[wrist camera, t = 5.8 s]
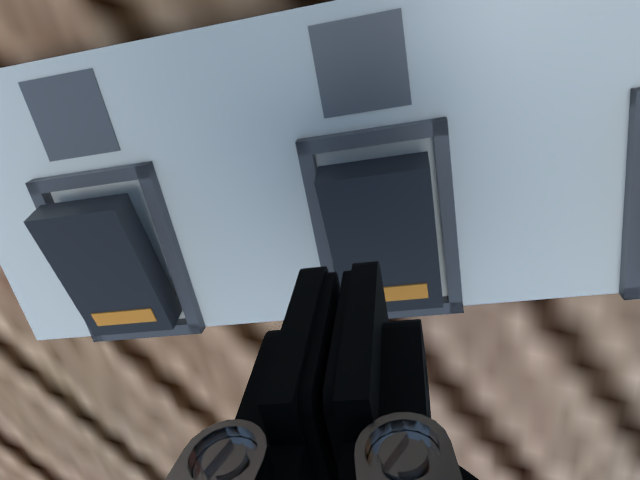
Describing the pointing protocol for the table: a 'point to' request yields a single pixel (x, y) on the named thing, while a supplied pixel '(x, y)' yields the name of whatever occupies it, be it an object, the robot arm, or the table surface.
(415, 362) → the robot arm
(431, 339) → the table surface
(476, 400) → the table surface
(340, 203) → the rocker middle
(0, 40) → the table surface
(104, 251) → the rocker
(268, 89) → the rocker switch panel
